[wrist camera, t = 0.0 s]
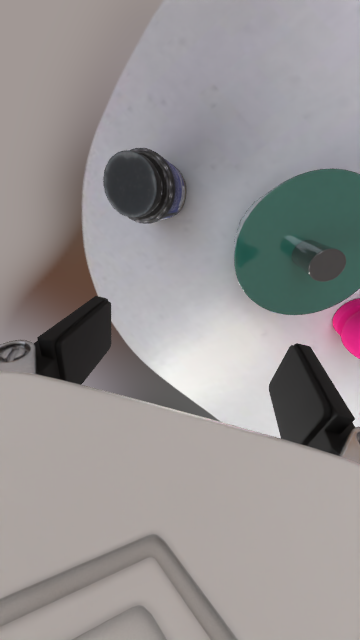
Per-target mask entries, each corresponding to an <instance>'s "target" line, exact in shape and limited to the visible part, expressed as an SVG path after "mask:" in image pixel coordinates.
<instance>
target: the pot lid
mask: <svg viewBox="0 0 360 640" xmlns="http://www.w3.org/2000/svg"><path fill="white" fill-rule="evenodd" d="M234 265H235V271H236V275H237V278H238V281H239V283H240V285H241V287H242V289H243V290H244V292H245V293H246V295H247V296H248V297H249V298H250V299H251V300H252V301H254V302H255V303H256V304H258V305H259V306H261V307H263V308H265V309H267V310H269V311H272V312H276V313H280V314H286V315H302V314H309V313H314V312H318V311H321V310H324V309H327V308H330V307H332V306H334V305H336V304H338V303H340V302H342V301H343V300H345V299H347V298H348V297H349V296H351V295H352V294H354V293H355V292H356V291H357V290H358V289H360V174H357V173H355V172H352V171H348V170H343V169H320V170H315V171H310V172H307V173H304V174H301V175H298V176H295V177H293V178H291V179H289V180H287V181H285V182H283V183H282V184H280V185H278V186H277V187H275V188H274V189H273V190H271V191H270V192H269V193H268V194H266V195H265V196H264V197H263V198H262V199H261V200H260V201H259V202H258V203H257V204H256V205H255V207H254V208H253V209H252V210H251V212H250V213H249V215H248V216H247V218H246V219H245V221H244V223H243V225H242V227H241V229H240V232H239V235H238V237H237V241H236V245H235V253H234Z"/></svg>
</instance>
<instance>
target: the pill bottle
mask: <svg viewBox="0 0 360 640" xmlns="http://www.w3.org/2000/svg"><path fill="white" fill-rule="evenodd" d="M103 182H104V188H105V193H106V196H107V198H108V200H109V202H110V203H111V205H112V206H113V208H114V209H116V210H117V211H118V212H119V213H120V214H122V215H124V216H127V217H129V218H130V219H132V220H134V221H136V222H138V223H144V224H145V223H153V222H157V221H160V220H164V219H167V218H171V217H172V216H174V215H176V214H177V213H178V212H179V211H180V210H181V208H182V206H183V204H184V201H185V196H186V186H185V181H184V179H183V176H182V174H181V173H180V171H179V170H178V169H177V168H176V167H175V166H174V165H172V164H171V163H169V162H168V161H167V160H165V159H164V158H163V157H161V156H160V155H159V154H158V153H156V152H154V151H152V150H150V149H147V148H135V149H131V150H130V151H121V152H118V153H117V154H115V155H114V156H113V157H112V158H111V159H110V160H109V162H108V164H107V165H106V168H105V172H104V181H103Z"/></svg>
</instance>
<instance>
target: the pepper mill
mask: <svg viewBox="0 0 360 640" xmlns="http://www.w3.org/2000/svg"><path fill="white" fill-rule="evenodd" d="M333 327H334V329H335V330H336V331H337V333H338V334H339V335H340V336H341V339H342V342H343V345H344V346H345V348H346V349H347V350H348V351H349V352H350V353H351V354H353V355H354V356H355V357H357V358H359V359H360V298H359V299H355V300H352V301H349V302H347V303H346V304H344V305H343V306H341V307H340V308H339V309H338V310H337V312H336V313H335V315H334V318H333Z"/></svg>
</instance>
